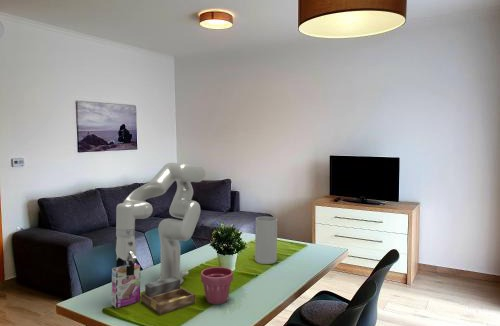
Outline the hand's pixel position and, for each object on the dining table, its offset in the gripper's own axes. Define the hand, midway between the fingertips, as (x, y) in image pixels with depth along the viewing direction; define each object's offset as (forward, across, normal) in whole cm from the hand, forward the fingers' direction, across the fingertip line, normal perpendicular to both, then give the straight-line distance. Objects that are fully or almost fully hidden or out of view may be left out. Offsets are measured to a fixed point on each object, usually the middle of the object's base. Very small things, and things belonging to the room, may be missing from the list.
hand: (125, 272), depth 167 cm
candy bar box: (+14, 0, -1) cm, 14 cm away
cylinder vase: (+12, +2, -87) cm, 88 cm away
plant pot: (+14, -22, -33) cm, 42 cm away
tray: (+14, -11, -15) cm, 23 cm away
